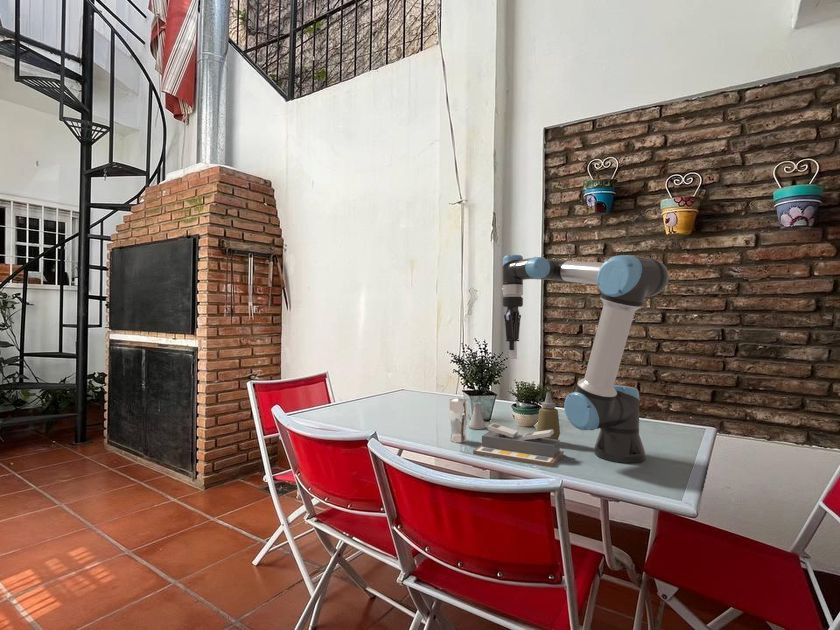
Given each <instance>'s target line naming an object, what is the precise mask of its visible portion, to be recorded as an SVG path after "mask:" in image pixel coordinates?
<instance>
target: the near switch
mask: <svg viewBox="0 0 840 630" xmlns="http://www.w3.org/2000/svg"><path fill="white" fill-rule="evenodd" d="M553 433H554V431H553V430H545V431H538V432H537V431H532V432H526V433H525V434H523V435H524V436H522V438H523V440H528V439H536V438H543V437H550V436H551V435H552V434H553Z"/></svg>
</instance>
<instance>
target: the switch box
mask: <svg viewBox="0 0 840 630" xmlns="http://www.w3.org/2000/svg"><path fill="white" fill-rule="evenodd" d="M524 435H525V434H519V433H518V434H517V435H516V436H515V437H513V438H512V437H509V436H506V435H503V434H500V433H497V432H494V431H491V430H489V431H488V432H486V433H484V434H482V435H481V445H480V446H477V447H476V448H475V449H473V450H472V451H473V453H472V454H473V455H476V454H478V456H482V455H486V456H485V457H488V456H492V457H491V458H495V457H498V458H497V459H501V458H503V459H502V460H507V461H512V462H520V463H525V464H531V463H532V465H538V466H545V467H549V466H550V467H549V468H554V466H555V465H556V464H557V463H558V462H559V461H561V459H562V458H563V456H564V453H565V451H564V450H563V451H562V450H561V449H560V447H561V445H560V444H561V442H560V441H561V440H560V439H558V440H556V439H549V438H536V439H528V440H523V438H522V436H524Z"/></svg>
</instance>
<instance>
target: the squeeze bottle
mask: <svg viewBox="0 0 840 630" xmlns="http://www.w3.org/2000/svg"><path fill="white" fill-rule="evenodd" d="M537 418H538V419H537V428H536V432H538V431H545V430H553V431H554V433H553V434H552V435H551V436H550V437H543V438H549V439H556V440H559V437H560V435H561V427H560V419H559V410H558V409H557V408H556V403H555V402H553V399H552V395H551V392H546V395H545V400H544V401H542V402H541V408H539V410H538V417H537Z"/></svg>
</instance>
